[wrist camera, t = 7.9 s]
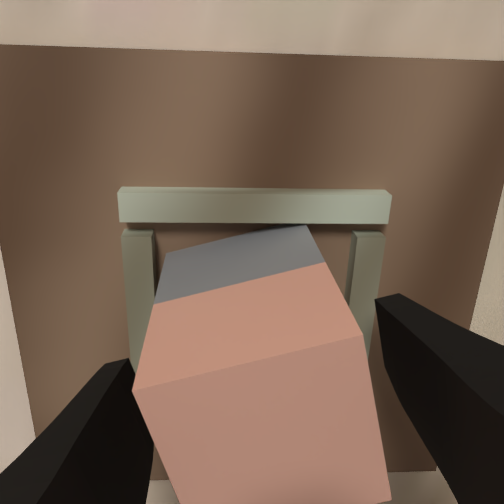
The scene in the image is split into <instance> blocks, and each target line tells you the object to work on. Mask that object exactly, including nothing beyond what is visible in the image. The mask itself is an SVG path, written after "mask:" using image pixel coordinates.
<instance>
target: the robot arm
mask: <svg viewBox="0 0 504 504" xmlns="http://www.w3.org/2000/svg"><path fill="white" fill-rule="evenodd" d="M374 301H375V307H376V314H377V321H378V327H379V334H380V340H381V347H382V354H383V360H384V367H385V369H386V372H387V374H388V376H389V379H390V381H391V383H392V386H393V388H394V390H395V393H396V395H397V397H398V399H399V402H400V403H401V405H402V407H403V409H404V410H405V412H406V414H407V415H408V417H409V419H410V421H411V422H412V424H413V426H414V427H415V429H416V431H417V432H418V434H419V436H420V437H421V439H422V441H423V443H424V444H425V446H426V448H427V449H428V451H429V453H430V454H431V456H432V458H433V459H434V461H435V463H436V464H437V466H438V468H439V469H440V471H441V473H442V474H443V476H444V478H445V480H446V481H447V483H448V485H449V487H450V489H451V490H452V492H453V494H454V496H455V498H456V500H457V502H458V504H504V346H503V345H501V344H498V343H496V342H494V341H492V340H489V339H487V338H485V337H482V336H480V335H478V334H476V333H474V332H472V331H469V330H467V329H465V328H463V327H461V326H459V325H457V324H455V323H453V322H451V321H449V320H448V319H446V318H444V317H442V316H440V315H438V314H436V313H434V312H433V311H431V310H429V309H427V308H425V307H424V306H422V305H420V304H418V303H416V302H415V301H413V300H411V299H409V298H407V297H406V296H404V295H402V294H400V293H397V294H393V295H389V296H385V297H380V298H376V299H374ZM135 376H136V374H135V372H134V369H133V367H132V364H131V362H130V360H129V358H126V359H122V360H118V361H113V362H109V363H105V364H104V365H103V366H102V367H101V368H100V369H99V370H98V371H97V372H96V373H95V374H94V375H93V376H92V378H91V379H90V380H89V381H88V382H87V383H86V384H85V385H84V387H83V388H82V389H81V390H80V391H79V392H78V393H77V394H76V396H75V397H74V398H73V399H72V400H71V401H70V402H69V403H68V405H67V406H66V407H65V408H64V409H63V410H62V411H61V412H60V414H59V415H58V416H57V417H56V418H55V419H54V420H53V421H52V422H51V423H50V425H49V426H48V427H47V428H46V429H45V430H44V431H43V432H42V433H41V434H40V435H39V436H38V437H37V438H36V439H35V440H34V441H33V442H32V443H31V444H30V445H29V446H28V447H27V448H26V449H25V450H24V452H23V453H22V454H21V455H20V456H19V457H17V458H16V459H15V460H14V461H13V462H12V463H11V464H10V465H9V466H8V467H7V468H6V469H5V470H4V471H3V472H2V473H1V474H0V504H146V499H147V493H148V487H149V481H150V476H151V470H152V463H153V452H154V441H153V439H152V437H151V434H150V432H149V430H148V427H147V425H146V423H145V420H144V418H143V416H142V413H141V411H140V409H139V406H138V404H137V402H136V399H135V397H134V395H133V392H132V388H133V384H134V380H135Z"/></svg>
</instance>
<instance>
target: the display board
mask: <svg viewBox="0 0 504 504" xmlns="http://www.w3.org/2000/svg"><path fill="white" fill-rule="evenodd" d="M503 185H504V61H486V60H456V59H425V58H395V57H364V56H334V55H304V54H273V53H243V52H213V51H182V50H152V49H122V48H91V47H61V46H30V45H0V246H1V252H2V257H3V262H4V268H5V273H6V279H7V284H8V290H9V295H10V300H11V306H12V311H13V317H14V322H15V328H16V333H17V338H18V344H19V349H20V355H21V360H22V366H23V371H24V376H25V382H26V387H27V393H28V398H29V404H30V409H31V414H32V420H33V425H34V431H35V436H36V438H37V437H38V436H39V435H40V434H41V433H42V432H43V431H44V430H45V429H46V428H47V427H48V426H49V425H50V423H51V422H52V421H53V420H54V419H55V418H56V417H57V416H58V415H59V414H60V412H61V411H62V410H63V409H64V408H65V407H66V406H67V405H68V403H69V402H70V401H71V400H72V399H73V398H74V397H75V396H76V394H77V393H78V392H79V391H80V390H81V389H82V388H83V387H84V385H85V384H86V383H87V382H88V381H89V380H90V379H91V378H92V376H93V375H94V374H95V373H96V372H97V371H98V370H99V369H100V368H101V367H102V366H103V365H104V364H105V363H109V362H113V361H118V360H122V359H126V358H129V360H130V362H131V364H132V367H133V369H134V372H135V374H136V372H137V368H138V364H139V360H140V356H141V352H142V348H143V344H144V340H145V336H146V332H147V328H148V324H149V320H150V316H151V312H152V308H153V304H154V300H155V296H156V292H157V288H158V284H159V280H160V276H161V272H162V268H163V264H164V260H165V256H166V253H169V252H173V251H177V250H181V249H185V248H189V247H193V246H197V245H201V244H205V243H209V242H213V241H217V240H221V239H225V238H229V237H233V236H237V235H241V234H245V233H249V232H253V231H257V230H261V229H265V228H269V227H272V226H276V225H280V224H284V223H306V225H307V227H308V229H309V231H310V233H311V235H312V237H313V239H314V241H315V243H316V245H317V247H318V249H319V250H320V252H321V254H322V256H323V258H324V260H325V262H326V264H327V266H328V268H329V270H330V272H331V274H332V276H333V278H334V279H335V281H336V283H337V285H338V287H339V289H340V291H341V293H342V295H343V297H344V299H345V301H346V303H347V305H348V307H349V308H350V310H351V312H352V314H353V316H354V318H355V320H356V322H357V324H358V326H359V328H360V330H361V332H362V334H363V337H364V343H365V349H366V354H367V360H368V366H369V371H370V377H371V383H372V389H373V394H374V400H375V406H376V411H377V417H378V423H379V429H380V434H381V440H382V446H383V451H384V457H385V463H386V469H387V472H412V471H436V467H437V464H436V463H435V461H434V459H433V458H432V456H431V454H430V453H429V451H428V449H427V448H426V446H425V444H424V443H423V441H422V439H421V437H420V436H419V434H418V432H417V431H416V429H415V427H414V426H413V424H412V422H411V421H410V419H409V417H408V415H407V414H406V412H405V410H404V409H403V407H402V405H401V403H400V402H399V399H398V397H397V395H396V393H395V390H394V388H393V386H392V383H391V381H390V379H389V376H388V374H387V372H386V369H385V367H384V360H383V354H382V347H381V340H380V334H379V327H378V321H377V314H376V307H375V301H374V299H376V298H380V297H385V296H389V295H393V294H397V293H400V294H402V295H404V296H406V297H407V298H409V299H411V300H413V301H415V302H416V303H418V304H420V305H422V306H424V307H425V308H427V309H429V310H431V311H433V312H434V313H436V314H438V315H440V316H442V317H444V318H446V319H448V320H449V321H451V322H453V323H455V324H457V325H459V326H461V327H463V328H465V329H467V330H469V328H470V324H471V320H472V316H473V311H474V307H475V303H476V299H477V294H478V290H479V286H480V282H481V278H482V273H483V269H484V265H485V261H486V257H487V252H488V248H489V244H490V240H491V235H492V231H493V227H494V223H495V219H496V214H497V210H498V206H499V202H500V197H501V193H502V189H503ZM150 480H170V479H169V477H168V474H167V472H166V470H165V467H164V465H163V462H162V460H161V458H160V455H159V453H158V451H157V448H156V446H155V444H154V452H153V463H152V470H151V476H150Z"/></svg>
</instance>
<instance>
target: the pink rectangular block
mask: <svg viewBox="0 0 504 504" xmlns="http://www.w3.org/2000/svg"><path fill="white" fill-rule="evenodd" d="M132 392H133V395H134V397H135V399H136V402H137V404H138V406H139V409H140V411H141V413H142V416H143V418H144V420H145V423H146V425H147V427H148V430H149V432H150V434H151V437H152V439H153V441H154V444H155V446H156V448H157V451H158V453H159V455H160V458H161V460H162V462H163V465H164V467H165V470H166V472H167V474H168V477H169V479H170V481H171V484H172V486H173V488H174V491H175V493H176V495H177V498H178V500H179V502H180V504H377V503H382V502H386V501H390V500H392V497H391V491H390V486H389V480H388V474H387V469H386V463H385V457H384V451H383V446H382V440H381V434H380V429H379V423H378V417H377V411H376V406H375V400H374V394H373V389H372V383H371V377H370V371H369V366H368V360H367V354H366V349H365V343H364V337H363V334H362V332H361V330H360V328H359V326H358V324H357V322H356V320H355V318H354V316H353V314H352V312H351V310H350V308H349V307H348V305H347V303H346V301H345V299H344V297H343V295H342V293H341V291H340V289H339V287H338V285H337V283H336V281H335V279H334V278H333V276H332V274H331V272H330V270H329V268H328V266H327V264H326V262H325V260H324V258H323V256H322V254H321V252H320V250H319V249H318V247H317V245H316V243H315V241H314V239H313V237H312V235H311V233H310V231H309V229H308V227H307V225H306V223H284V224H280V225H276V226H272V227H269V228H265V229H261V230H257V231H253V232H249V233H245V234H241V235H237V236H233V237H229V238H225V239H221V240H217V241H213V242H209V243H205V244H201V245H197V246H193V247H189V248H185V249H181V250H177V251H173V252H169V253H166V256H165V260H164V264H163V268H162V272H161V276H160V280H159V284H158V288H157V292H156V296H155V300H154V304H153V308H152V312H151V316H150V320H149V324H148V328H147V332H146V336H145V340H144V344H143V348H142V352H141V356H140V360H139V364H138V368H137V372H136V376H135V380H134V384H133V388H132Z"/></svg>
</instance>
